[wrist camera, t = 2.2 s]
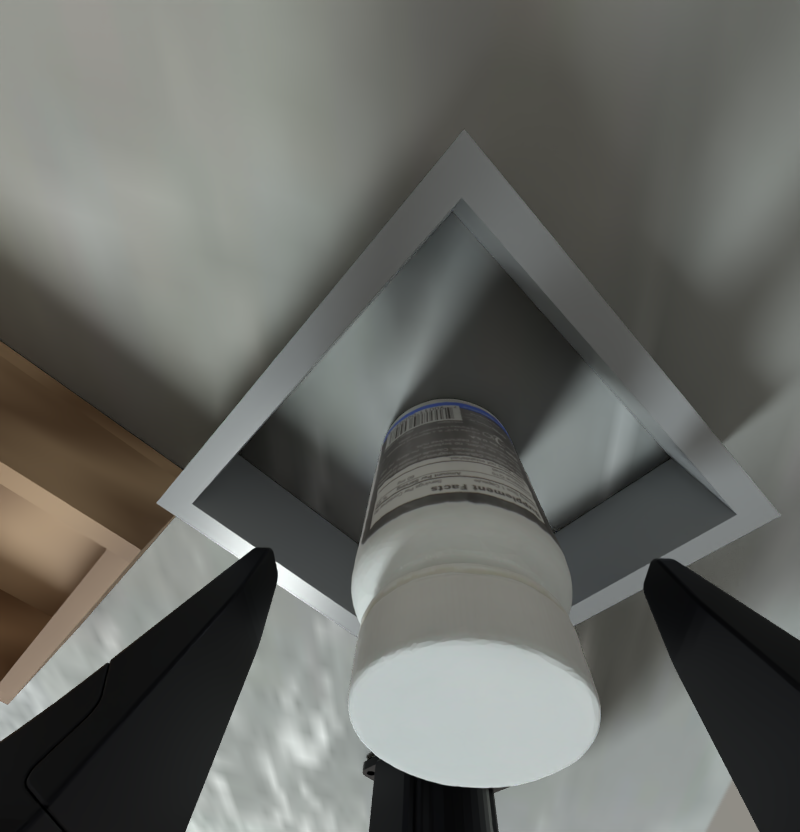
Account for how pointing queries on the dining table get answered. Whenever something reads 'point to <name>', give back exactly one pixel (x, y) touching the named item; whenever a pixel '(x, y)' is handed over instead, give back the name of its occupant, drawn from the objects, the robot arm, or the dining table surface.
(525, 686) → the pill bottle
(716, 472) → the bin
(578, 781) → the dining table surface
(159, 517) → the walnut bin
